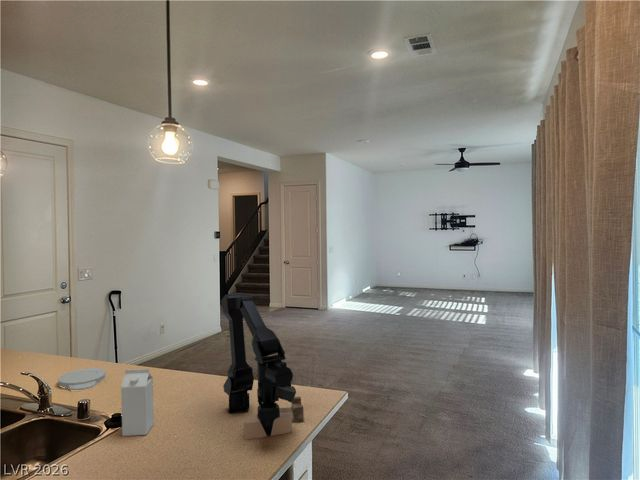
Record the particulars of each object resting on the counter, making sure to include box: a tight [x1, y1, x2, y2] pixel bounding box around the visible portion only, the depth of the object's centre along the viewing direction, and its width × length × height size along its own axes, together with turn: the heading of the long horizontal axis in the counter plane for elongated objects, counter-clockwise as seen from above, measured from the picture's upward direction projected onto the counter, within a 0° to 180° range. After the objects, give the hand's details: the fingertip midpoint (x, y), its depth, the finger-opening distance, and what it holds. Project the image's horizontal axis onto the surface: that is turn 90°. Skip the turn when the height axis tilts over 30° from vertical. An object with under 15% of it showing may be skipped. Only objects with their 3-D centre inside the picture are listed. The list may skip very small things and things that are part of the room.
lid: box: [57, 367, 107, 391], centre depth 169 cm, size 17×20×3 cm
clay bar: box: [243, 412, 293, 440], centre depth 125 cm, size 14×4×5 cm, turn 107°
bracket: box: [279, 396, 305, 424], centre depth 136 cm, size 14×9×5 cm, turn 99°
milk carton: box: [120, 368, 155, 437], centre depth 128 cm, size 7×7×19 cm
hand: (268, 429), depth 125 cm, fingers open, 8 cm apart
